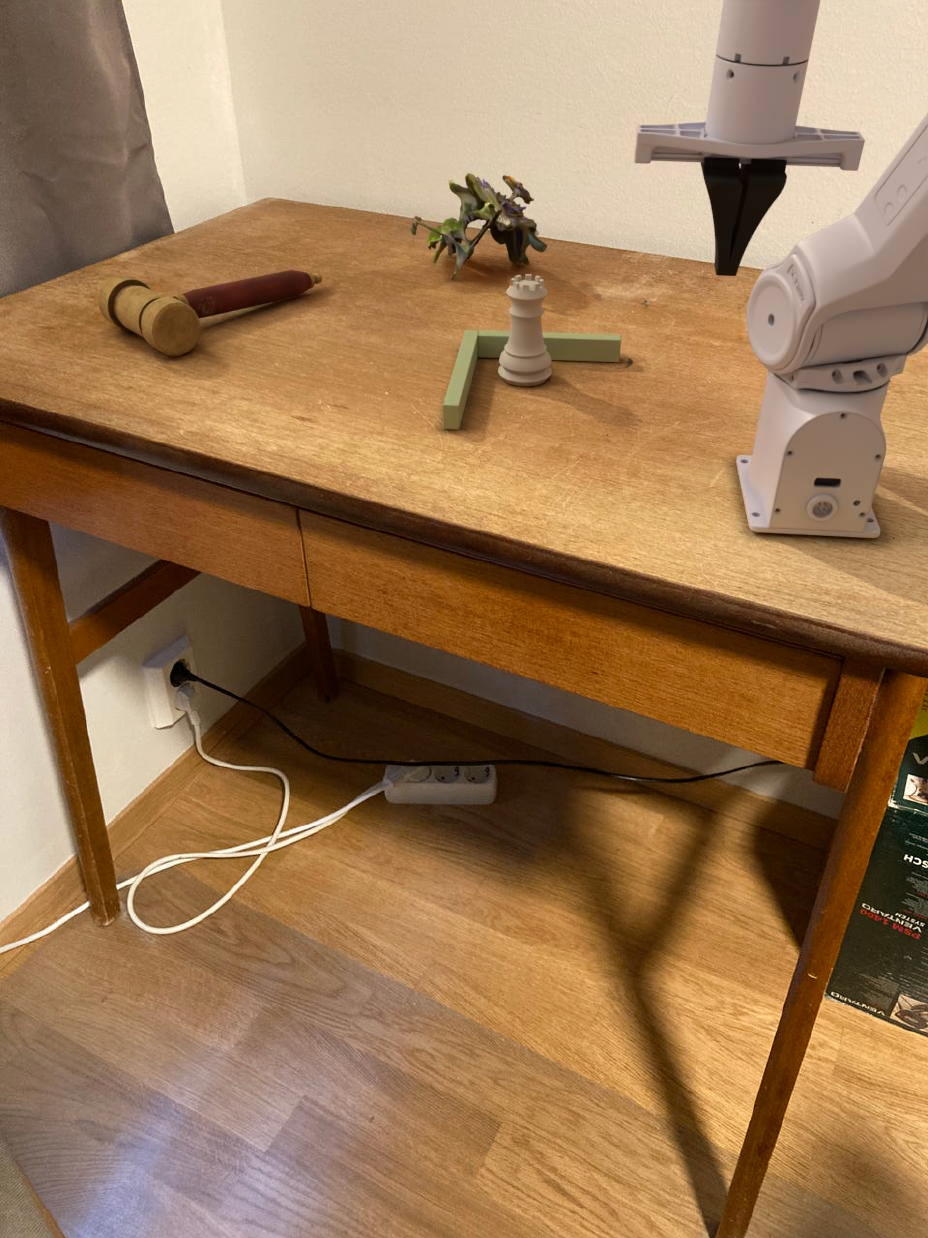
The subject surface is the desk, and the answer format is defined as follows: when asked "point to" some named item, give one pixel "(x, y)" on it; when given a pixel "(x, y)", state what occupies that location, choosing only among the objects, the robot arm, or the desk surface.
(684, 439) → the desk surface
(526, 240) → the passion flower
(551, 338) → the corner guide
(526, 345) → the rook chess piece
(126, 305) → the gavel
